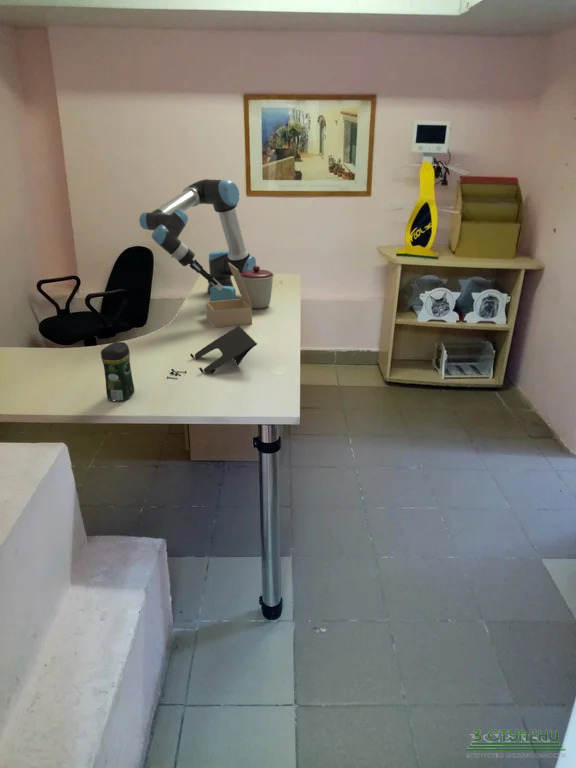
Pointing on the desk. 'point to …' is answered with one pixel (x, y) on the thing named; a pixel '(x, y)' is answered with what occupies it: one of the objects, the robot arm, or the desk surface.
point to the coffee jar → (117, 371)
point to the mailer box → (229, 313)
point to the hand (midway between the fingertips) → (221, 288)
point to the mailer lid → (240, 283)
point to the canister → (258, 286)
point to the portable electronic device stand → (228, 348)
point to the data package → (222, 293)
